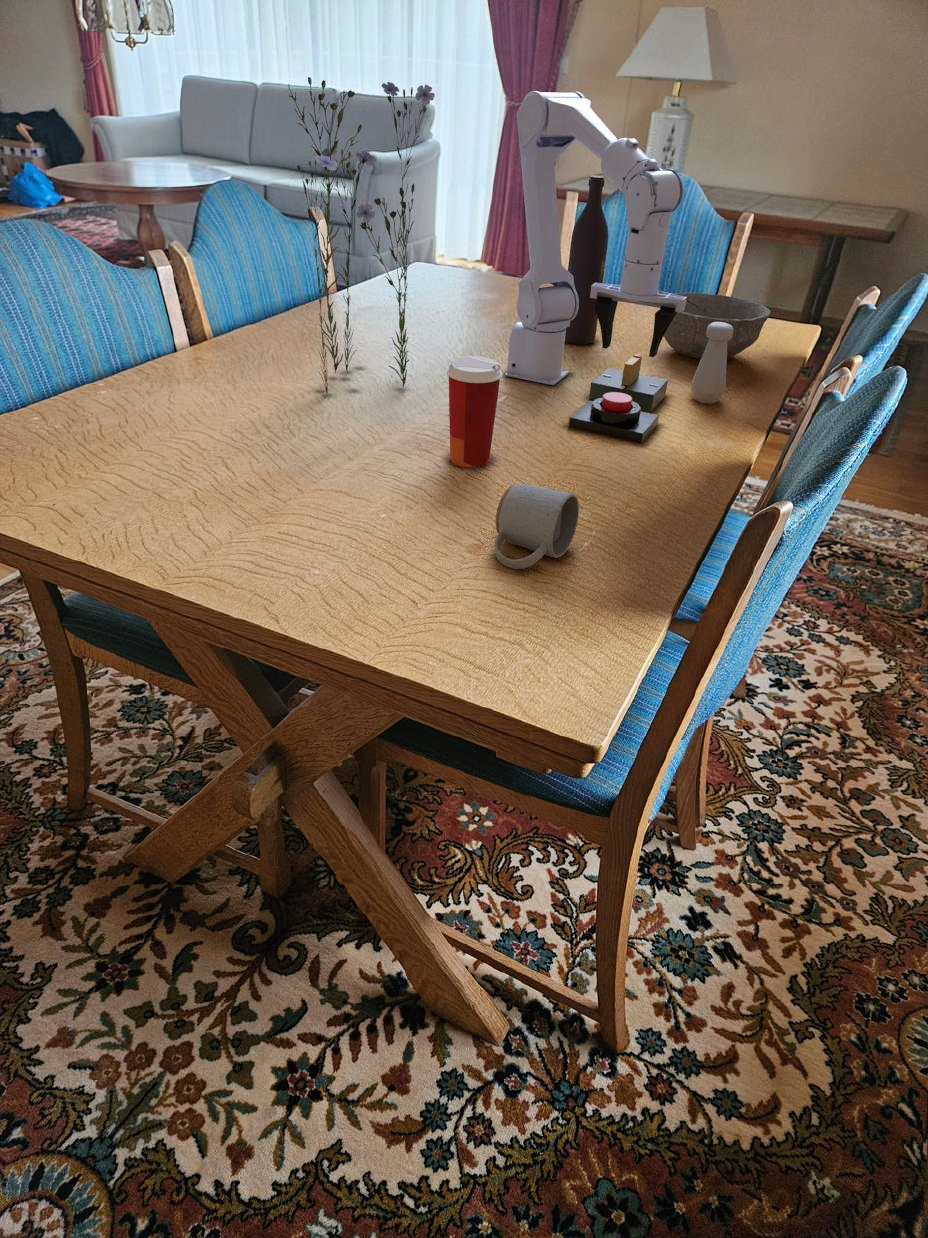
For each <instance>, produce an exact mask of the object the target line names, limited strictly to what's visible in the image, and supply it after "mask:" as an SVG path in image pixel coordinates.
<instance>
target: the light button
mask: <svg viewBox="0 0 928 1238" xmlns="http://www.w3.org/2000/svg"><path fill="white" fill-rule="evenodd" d="M631 405H632V397H631V396H629V395H627V394H624V393H619V392H609V393H605V394H604V395H603V399H602V407H603V408H605V409H607V410H612V411H629V410H631Z"/></svg>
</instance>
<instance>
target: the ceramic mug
mask: <svg viewBox="0 0 928 1238" xmlns="http://www.w3.org/2000/svg"><path fill="white" fill-rule="evenodd" d="M496 508H497V509H496V512H495V529H496V532H497V535H496V537H495V540H494V543H493V547H494V553H495V556H496V559H497V560H498V562H499V563H500V564H501V565H503V566H505V567H506V568H509V569H511V570H512V569H513V570H523V569H527V568H530V567H533V565H535V564H536V563H538V562H539V560H541V559H542V558H543V557H544V556H546V557H550V558H554V559H558V558H561V557H562V556H563V555H565V554H566V552H567V551H568V549H569V548H570V546H571V544H572V542H573V539H574V537H575V535H576V532H577V527H578V522H579V517H580V516H579V515H580V502H579V499H578V497H577V495H576V494H575V493H573V492H569V491H562V490H558V489H553V488H547V487H541V486H537V485H532V484H527V483H515V484H511V486H509V487H508V488H506V490H505V491H504V493H503V494H502V495H501V497H500V499H499V501H498V505H497V507H496ZM504 541H506V542H507V543H509V544H512V545H514V546H515V545H516V546H518V547H522V548H524V549H527V550H530V551H533V552H532V553H531V554H529V555H528V556H525V557H521V558H518V559H512V558H508V557H507V556H506V555H505V554H503V553H502V551H501V550H500V549H501V546H502V544H503V542H504Z"/></svg>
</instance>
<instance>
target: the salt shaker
mask: <svg viewBox="0 0 928 1238" xmlns="http://www.w3.org/2000/svg"><path fill="white" fill-rule="evenodd" d="M706 335H707V337H708V338H709V340H708V343H707V346H706V348H705V351H704V353H703V356H702V358H701V359H700V361H699V364H698V366H697V368H696V371H695V373H694V376H693V378H692V380H691V385H690V387H691V393H692V398H693V400H695V401H697V402H699V403H700V404H710V405H713V404H715V403H717V402H719V400H720V399H721V397H722V396H723V395H724V394H725V391H726V383H727V362H728V361H727V359H728V357H727V342H728V340H730V339H731V338H732V335H733V327H732V326H731V325H730V324H728V323H724V322H713V323H711V324H709V325H708V328H707V332H706Z"/></svg>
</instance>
